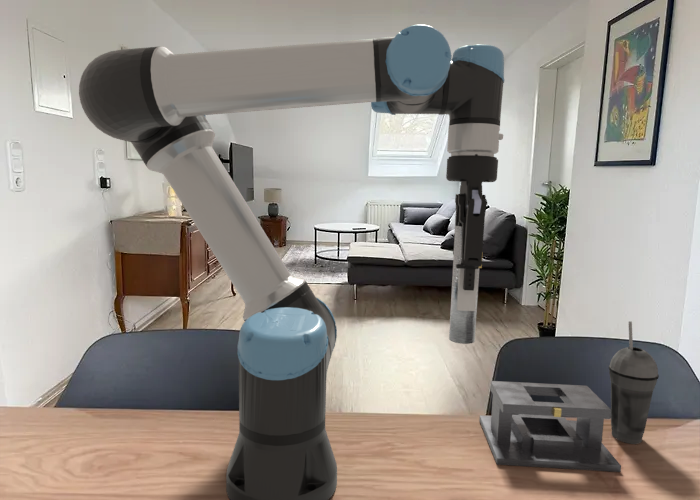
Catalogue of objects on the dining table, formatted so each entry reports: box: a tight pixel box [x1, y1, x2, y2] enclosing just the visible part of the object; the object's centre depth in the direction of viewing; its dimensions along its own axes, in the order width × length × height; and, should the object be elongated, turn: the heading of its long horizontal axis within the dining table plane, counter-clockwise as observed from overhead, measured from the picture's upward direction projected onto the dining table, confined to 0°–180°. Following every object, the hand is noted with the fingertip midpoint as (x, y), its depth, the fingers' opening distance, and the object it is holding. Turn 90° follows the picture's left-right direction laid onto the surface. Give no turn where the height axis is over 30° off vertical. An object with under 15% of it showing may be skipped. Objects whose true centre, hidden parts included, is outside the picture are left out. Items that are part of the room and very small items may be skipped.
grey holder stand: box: [478, 380, 622, 473], centre depth 80 cm, size 18×14×8 cm
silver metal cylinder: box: [448, 225, 483, 345], centre depth 77 cm, size 4×4×18 cm
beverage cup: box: [608, 321, 660, 445], centre depth 82 cm, size 7×7×20 cm
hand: (463, 306), depth 77 cm, fingers closed on silver metal cylinder, 4 cm apart
